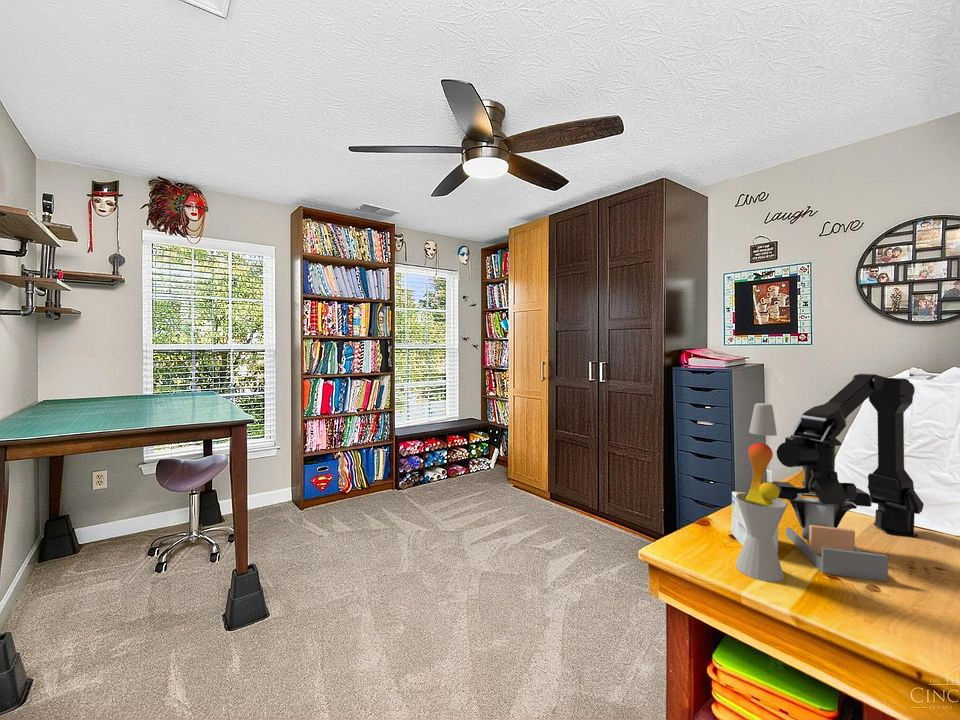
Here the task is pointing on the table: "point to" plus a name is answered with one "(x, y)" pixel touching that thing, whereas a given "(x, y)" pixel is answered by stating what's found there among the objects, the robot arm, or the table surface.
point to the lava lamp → (761, 506)
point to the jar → (817, 515)
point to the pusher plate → (831, 538)
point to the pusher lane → (844, 560)
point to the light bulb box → (743, 524)
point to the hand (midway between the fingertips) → (817, 528)
